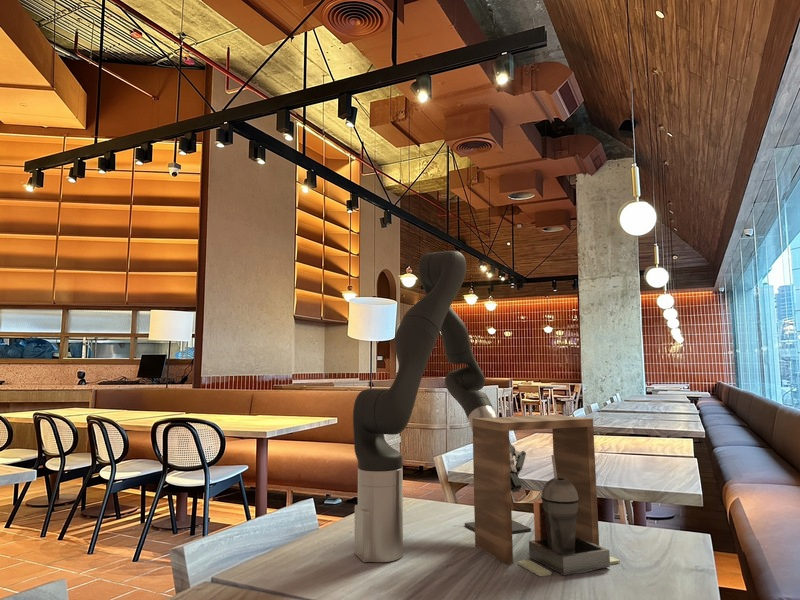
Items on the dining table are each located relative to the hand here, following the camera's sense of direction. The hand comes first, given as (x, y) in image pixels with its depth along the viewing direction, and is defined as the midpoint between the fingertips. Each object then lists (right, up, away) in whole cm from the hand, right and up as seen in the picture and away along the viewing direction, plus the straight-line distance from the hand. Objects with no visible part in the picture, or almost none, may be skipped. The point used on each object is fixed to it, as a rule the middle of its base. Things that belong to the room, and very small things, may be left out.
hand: (517, 489), depth 123 cm
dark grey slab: (-3, -11, +7) cm, 14 cm away
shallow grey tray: (+6, -8, -16) cm, 19 cm away
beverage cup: (+6, -9, -15) cm, 18 cm away
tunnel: (+3, -10, -7) cm, 12 cm away
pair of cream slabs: (+6, -8, -17) cm, 20 cm away
